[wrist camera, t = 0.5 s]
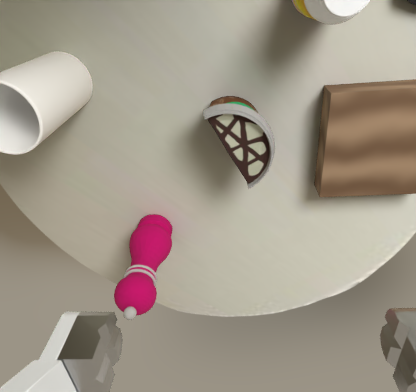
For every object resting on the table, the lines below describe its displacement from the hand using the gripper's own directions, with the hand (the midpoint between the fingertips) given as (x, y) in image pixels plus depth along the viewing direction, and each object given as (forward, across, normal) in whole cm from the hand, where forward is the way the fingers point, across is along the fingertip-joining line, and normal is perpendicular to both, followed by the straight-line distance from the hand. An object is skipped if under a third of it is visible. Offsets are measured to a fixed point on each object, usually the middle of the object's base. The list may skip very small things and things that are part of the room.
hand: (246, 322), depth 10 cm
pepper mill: (+43, +15, +28) cm, 54 cm away
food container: (+43, -2, +8) cm, 44 cm away
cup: (+43, +24, +1) cm, 49 cm away
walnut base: (+43, -21, +12) cm, 49 cm away
